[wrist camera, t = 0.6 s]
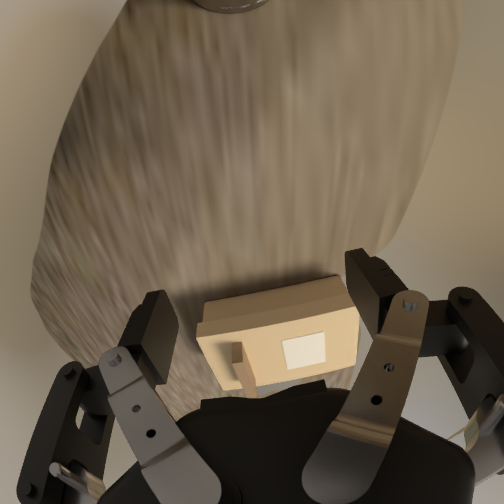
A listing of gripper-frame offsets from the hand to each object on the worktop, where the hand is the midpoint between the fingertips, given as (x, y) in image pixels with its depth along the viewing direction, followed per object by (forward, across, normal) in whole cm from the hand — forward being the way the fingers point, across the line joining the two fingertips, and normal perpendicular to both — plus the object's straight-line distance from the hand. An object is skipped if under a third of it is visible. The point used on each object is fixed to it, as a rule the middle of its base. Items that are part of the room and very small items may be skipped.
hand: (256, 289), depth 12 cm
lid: (+17, 0, +20) cm, 26 cm away
